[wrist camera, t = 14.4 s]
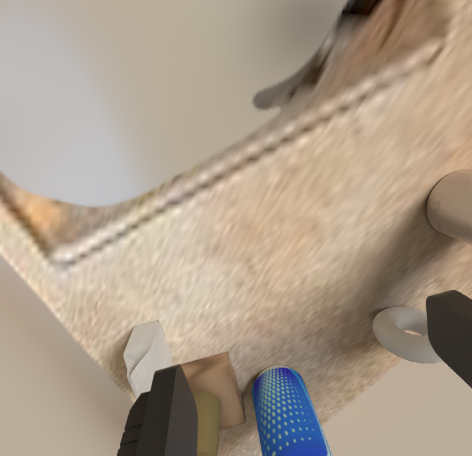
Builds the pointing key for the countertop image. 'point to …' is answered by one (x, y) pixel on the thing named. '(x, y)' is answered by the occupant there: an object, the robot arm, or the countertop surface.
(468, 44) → the countertop surface
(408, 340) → the donut
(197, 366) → the walnut base
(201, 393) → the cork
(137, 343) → the white tall box
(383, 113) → the countertop surface
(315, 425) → the beer can
